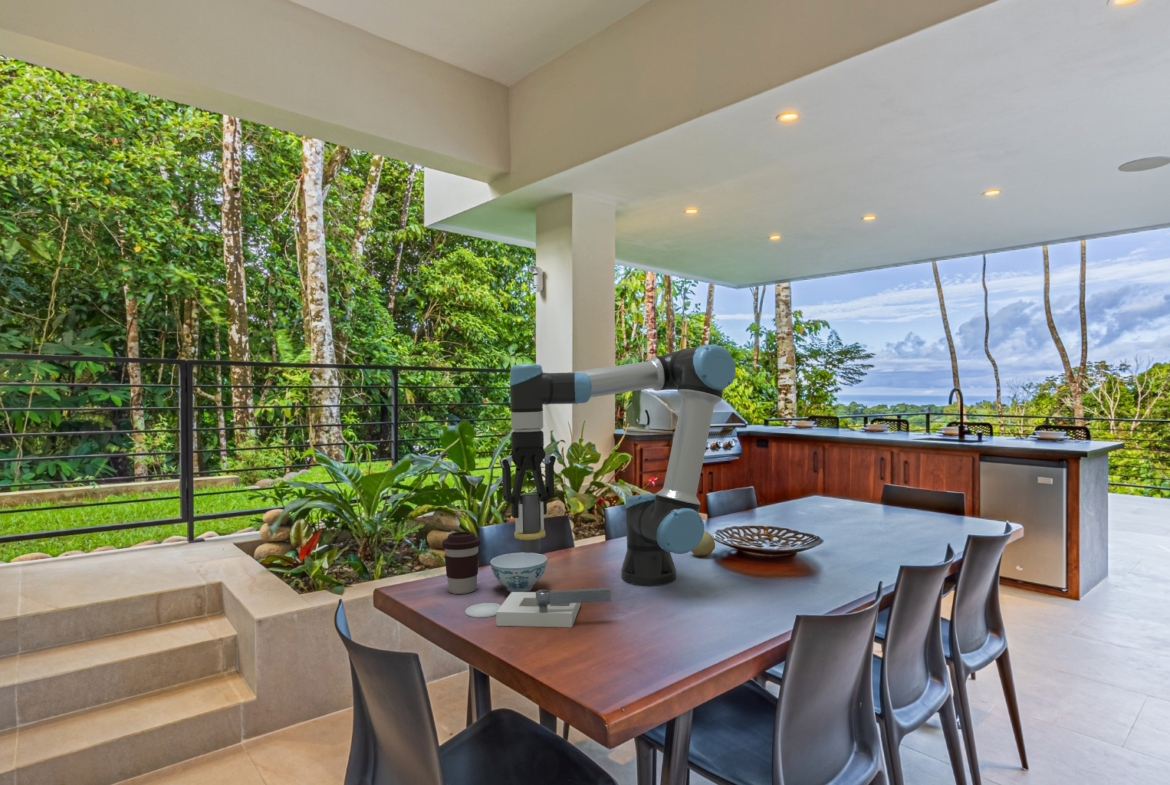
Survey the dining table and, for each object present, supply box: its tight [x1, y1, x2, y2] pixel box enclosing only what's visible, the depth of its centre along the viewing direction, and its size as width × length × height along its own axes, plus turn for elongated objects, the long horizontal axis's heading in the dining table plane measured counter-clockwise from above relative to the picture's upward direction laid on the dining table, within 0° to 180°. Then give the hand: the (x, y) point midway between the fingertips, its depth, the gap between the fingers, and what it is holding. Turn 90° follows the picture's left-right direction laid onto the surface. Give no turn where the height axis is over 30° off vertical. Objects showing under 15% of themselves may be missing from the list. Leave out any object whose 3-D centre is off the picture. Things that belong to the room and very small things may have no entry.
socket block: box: [495, 591, 582, 628], centre depth 139 cm, size 17×14×4 cm
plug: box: [514, 492, 546, 553], centre depth 140 cm, size 7×7×13 cm
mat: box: [464, 602, 502, 619], centre depth 143 cm, size 9×9×1 cm
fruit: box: [690, 530, 716, 557], centre depth 187 cm, size 8×8×8 cm
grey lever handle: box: [535, 587, 612, 606], centre depth 134 cm, size 17×3×2 cm, turn 94°
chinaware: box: [489, 552, 548, 593], centre depth 159 cm, size 15×15×8 cm
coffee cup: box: [441, 530, 481, 595], centre depth 159 cm, size 10×10×15 cm
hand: (529, 530), depth 140 cm, fingers closed on plug, 5 cm apart
